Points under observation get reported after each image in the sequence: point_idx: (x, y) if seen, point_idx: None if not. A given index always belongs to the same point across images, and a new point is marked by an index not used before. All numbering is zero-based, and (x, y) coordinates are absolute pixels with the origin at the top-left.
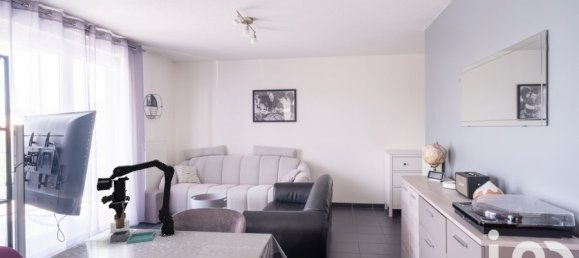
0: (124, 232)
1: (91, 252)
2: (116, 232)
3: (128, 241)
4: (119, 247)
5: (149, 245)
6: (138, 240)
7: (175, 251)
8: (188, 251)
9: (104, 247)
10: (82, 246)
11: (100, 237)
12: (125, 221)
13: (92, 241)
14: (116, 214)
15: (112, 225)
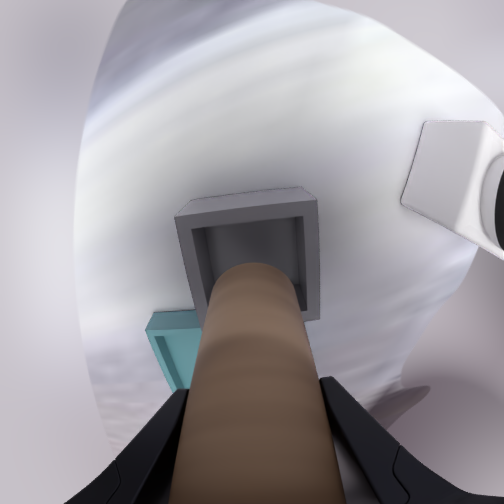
0: (303, 280)
1: (81, 141)
2: (303, 220)
3: (149, 336)
4: (136, 280)
5: (158, 395)
6: (167, 375)
7: (113, 439)
8: (118, 453)
9: (147, 179)
10: (212, 12)
11: (389, 64)
12: (482, 247)
13: (312, 32)
14: (186, 428)
15: (466, 138)
